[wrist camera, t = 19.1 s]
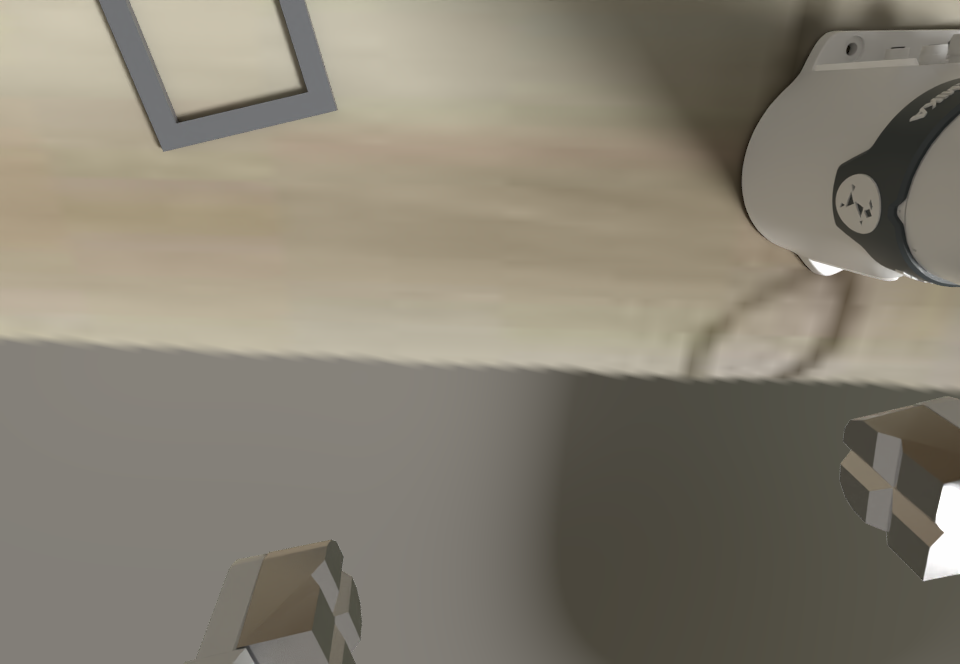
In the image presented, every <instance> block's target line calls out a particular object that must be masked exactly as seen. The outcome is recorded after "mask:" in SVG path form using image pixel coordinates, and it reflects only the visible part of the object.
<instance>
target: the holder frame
mask: <svg viewBox="0 0 960 664" xmlns="http://www.w3.org/2000/svg"><path fill="white" fill-rule="evenodd" d="M279 1H280V5H281V8H282V11H283V14H284V17H285V20H286V24H287V27H288V30H289V33H290V36H291V40H292V43H293V46H294V49H295V52H296V55H297V59H298V62H299V65H300V68H301V71H302V74H303V78H304V81H305V84H306V87H307V90H308V92H306V93H302V94H298V95H294V96H290V97H285V98H281V99H277V100H273V101H268V102H264V103H260V104H256V105H252V106H247V107H243V108H239V109H235V110H231V111H226V112H222V113H218V114H214V115H209V116H205V117H201V118H197V119H193V120H188V121H184V122H180V123H179V122H178V119H177V117H176V114H175V112H174V109H173V107H172V104H171V102H170V100H169V97H168V95H167V92H166V90H165V87H164V85H163V82H162V80H161V78H160V75H159V73H158V70H157V68H156V65H155V63H154V60H153V58H152V56H151V53H150V51H149V48H148V46H147V43H146V41H145V38H144V36H143V34H142V31H141V29H140V26H139V24H138V21H137V19H136V16H135V14H134V12H133V9H132V7H131V4H130V2H129V0H99V2H100V4H101V7H102V9H103V11H104V14H105V16H106V19H107V21H108V23H109V26H110V28H111V30H112V33H113V35H114V37H115V40H116V42H117V44H118V47H119V49H120V51H121V54H122V56H123V58H124V61H125V63H126V65H127V68H128V70H129V72H130V75H131V77H132V79H133V82H134V84H135V86H136V89H137V91H138V93H139V96H140V98H141V100H142V103H143V105H144V107H145V110H146V112H147V114H148V117H149V119H150V121H151V124H152V126H153V128H154V131H155V133H156V135H157V138H158V140H159V142H160V145H161V147H162V149H163V152H164V151H168V150H173V149H177V148H181V147H185V146H189V145H194V144H198V143H202V142H206V141H210V140H214V139H219V138H223V137H227V136H231V135H235V134H240V133H244V132H248V131H252V130H256V129H261V128H265V127H269V126H273V125H277V124H282V123H286V122H290V121H294V120H298V119H302V118H307V117H311V116H315V115H319V114H323V113H328V112H332V111H336V110H338V109H337V106H336V103H335V99H334V96H333V92H332V89H331V86H330V82H329V79H328V76H327V72H326V69H325V66H324V62H323V59H322V56H321V52H320V49H319V46H318V42H317V39H316V36H315V32H314V29H313V26H312V22H311V19H310V15H309V12H308V9H307V5H306V2H305V0H279Z"/></svg>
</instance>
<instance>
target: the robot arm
mask: <svg viewBox="0 0 960 664" xmlns="http://www.w3.org/2000/svg"><path fill="white" fill-rule="evenodd" d="M848 45H850V51H849V53H848V54H847V53H846V48H847V46H848ZM742 192H743V198H744V203H745V207H746V210H747V212H748V215H749V217H750V219H751V221H752V222H753V224H754V225H755V227H756V228H757V230H758V231H759V232H760V233H761V234H762V235H763V236H764V237H765V238H767V239H768V240H769V241H771V242H772V243H774V244H776V245H778V246H780V247H783V248H785V249H788V250H790V251H792V252H794V253H796V254H797V255H799V257H800V258H801V259H802V261H803V262H804V263H805V265H806V266H807V267H808V268H809V269H810V270H811V271H812V272H814V273H816V274H820V275H824V276H829V275H833V274H835V273H837V272H840V271H842V270H847V271H851V272H854V273H858V274H862V275H865V276H869V277H873V278H877V279H880V280H885V281H895V280H897V279H898V277H901V276H905V277H908V278H911V279H914V280H917V281H921V282H925V283H926V282H928V283H932V284H933V283H934V284H937V285H940V286H948V287H960V29H942V30H865V31H831V32H828V33H826V34H825V35H823V36H822V37H821V38H820V39H819V40H818V42H817V43H816V45H815V46H814V48H813V50H812V51H811V53H810V55H809V57H808V59H807V61H806V63H805V65H804V67H803V69H802V71H801V72H800V74H799V75H798V76H797V78H796V79H795V80H794V81H793V82H792V83H791V84H790V85H789V86H788V87H787V88H786V89H785V90H784V91H783V92H782V93H781V94H780V95H779V96H778V97H777V98H776V99H775V100H774V101H773V103H772V104H771V105H770V106H769V108H768V109H767V110H766V112H765V113H764V115H763V116H762V118H761V119H760V121H759V123H758V124H757V126H756V128H755V130H754V132H753V134H752V137H751V139H750V142H749V144H748V147H747V151H746V154H745V159H744V163H743V170H742ZM843 442H844V443H845V444H846V445H847V446H848V447H849V448H850V450H851V451H850V452H849V454H848V455H847V456H846V458H845V459H844V460H843V461H842V463H841V464H840V483H841V486H842V489H843V492H844V495H845V498H846V500H847V501H848V503H849V504H850V506H851V507H852V509H853V510H854V511H855V513H856V514H857V515H858V516H859V517H860V518H861V519H862V520H863V521H864V522H865V523H867V524H869V525H872V526H874V527H876V528H879V529H881V530H884V531H886V535H887V544H888V546H889V547H890V548H891V549H892V550H893V551H894V552H895V553H896V554H897V555H898V556H899V557H900V558H901V559H902V560H903V561H904V562H905V563H906V564H907V565H908V566H909V567H910V568H911V569H912V570H913V571H914V572H915V573H916V574H917V575H918V576H919V577H920V578H921V579H922V580H923V581H925V580H930V579H935V578H940V577H945V576H950V575H954V574H960V400H959V399H956V398H952V397H948V396H945V397H941V398H938V399H933V400H930V401H925V402H921V403H917V404H914V405H912V406H907V407H902V408H898V409H894V410H890V411H885V412H881V413H877V414H873V415H869V416H864V417H860V418H856V419H852V420H850V421H849V422H848V424H847V425H846V427H845V428H844V436H843ZM343 558H344V557H343V554H342V552H341V550H340V548H339V546H338V543H337V542H336V541H334V540H328V541H322V542H317V543H312V544H308V545H303V546H298V547H293V548H288V549H284V550H278V551H273V552H269V553H268V554H263V555H258V556H253V557H248V558H243V559H238V560H236V561H235V562H234V564H233V565H231V567H230V568H229V571H228V573H227V576H226V579H225V581H224V584H223V587H222V589H221V592H220V595H219V598H218V600H217V603H216V606H215V608H214V611H213V614H212V617H211V619H210V622H209V625H208V627H207V630H206V633H205V635H204V638H203V641H202V644H201V646H200V649H199V652H198V654H197V657H196V659H195V660H191V661H187V662H185V663H184V664H356V663H355V661H354V659H353V657H352V654H351V653H352V652H353V650H354V649H355V647H356V646H357V645H358V643H359V642H360V640H361V627H362V618H361V606H360V600H359V596H358V591H357V587H356V585H355V582H354V580H353V578H352V576H350V575H348V574H346V573H345V572H343V571H342V565H343Z"/></svg>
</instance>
